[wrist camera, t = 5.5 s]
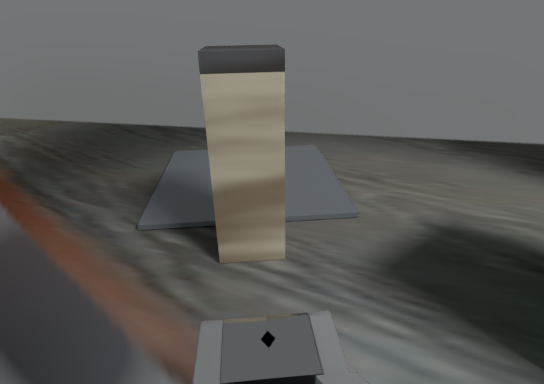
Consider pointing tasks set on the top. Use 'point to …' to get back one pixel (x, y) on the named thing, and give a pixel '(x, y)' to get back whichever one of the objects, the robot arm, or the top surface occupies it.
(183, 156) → the mat
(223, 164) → the wooden block
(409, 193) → the top surface
